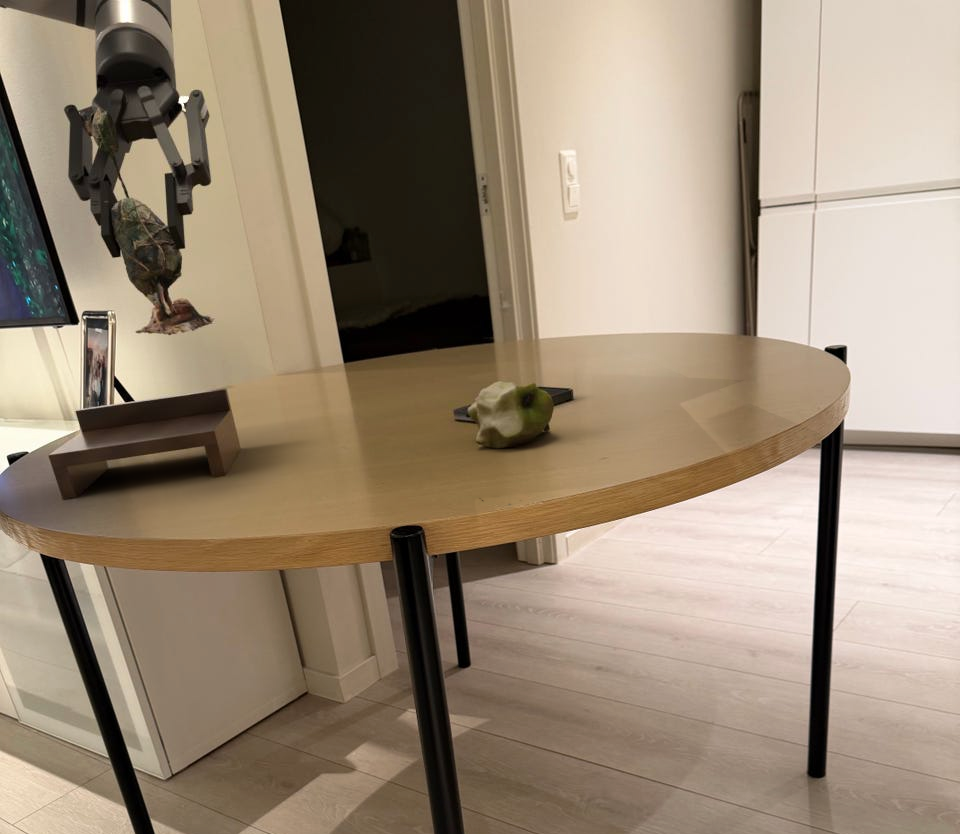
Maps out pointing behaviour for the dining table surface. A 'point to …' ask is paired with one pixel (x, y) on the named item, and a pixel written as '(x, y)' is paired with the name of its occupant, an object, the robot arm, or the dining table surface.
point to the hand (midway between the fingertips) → (143, 241)
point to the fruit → (511, 414)
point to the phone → (555, 393)
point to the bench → (146, 435)
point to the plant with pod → (147, 249)
